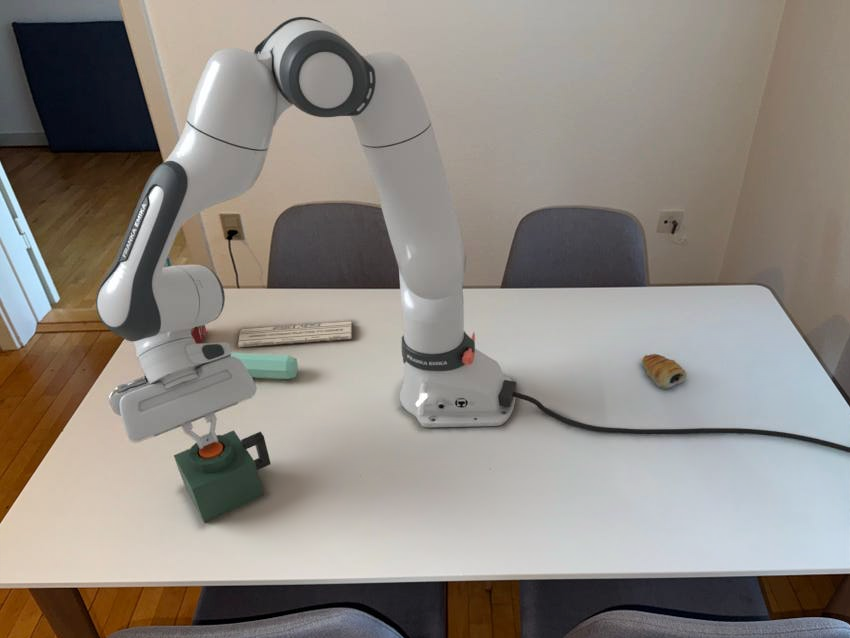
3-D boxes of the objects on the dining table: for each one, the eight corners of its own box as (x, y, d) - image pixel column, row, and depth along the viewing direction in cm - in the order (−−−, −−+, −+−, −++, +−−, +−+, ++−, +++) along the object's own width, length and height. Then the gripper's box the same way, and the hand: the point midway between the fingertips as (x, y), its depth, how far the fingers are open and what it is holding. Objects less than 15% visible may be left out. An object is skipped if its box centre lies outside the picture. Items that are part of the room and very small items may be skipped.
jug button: (220, 447, 115) (217, 437, 114) (228, 460, 113) (226, 450, 111) (198, 456, 113) (195, 446, 112) (206, 469, 111) (203, 460, 110)
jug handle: (267, 459, 121) (260, 431, 117) (270, 464, 120) (263, 435, 116) (248, 467, 119) (240, 439, 115) (251, 472, 118) (243, 444, 114)
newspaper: (239, 349, 150) (237, 342, 148) (243, 330, 155) (242, 323, 154) (351, 341, 152) (350, 334, 151) (351, 322, 158) (351, 315, 157)
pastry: (633, 366, 146) (635, 351, 143) (658, 357, 148) (661, 342, 146) (662, 392, 139) (666, 377, 137) (689, 382, 142) (692, 367, 139)
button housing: (243, 463, 123) (231, 421, 117) (263, 495, 117) (252, 452, 111) (185, 489, 118) (170, 446, 112) (204, 523, 113) (188, 480, 107)
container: (296, 347, 140) (172, 341, 140) (291, 373, 137) (164, 367, 137) (303, 362, 145) (182, 356, 146) (298, 387, 142) (175, 382, 143)
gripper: (103, 387, 104) (141, 472, 104) (237, 339, 114) (272, 417, 113) (105, 394, 110) (141, 475, 109) (233, 348, 119) (266, 423, 119)
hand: (209, 445), depth 111 cm, fingers closed, pressing on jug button
